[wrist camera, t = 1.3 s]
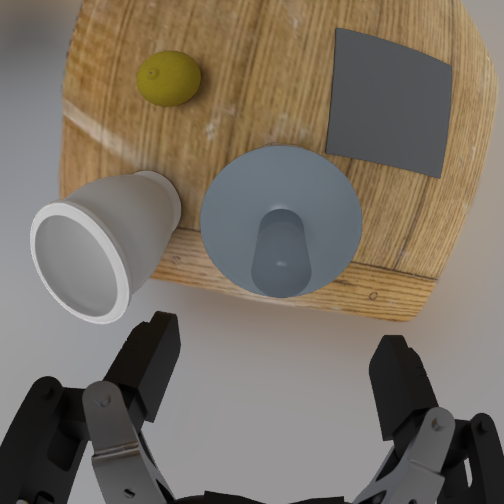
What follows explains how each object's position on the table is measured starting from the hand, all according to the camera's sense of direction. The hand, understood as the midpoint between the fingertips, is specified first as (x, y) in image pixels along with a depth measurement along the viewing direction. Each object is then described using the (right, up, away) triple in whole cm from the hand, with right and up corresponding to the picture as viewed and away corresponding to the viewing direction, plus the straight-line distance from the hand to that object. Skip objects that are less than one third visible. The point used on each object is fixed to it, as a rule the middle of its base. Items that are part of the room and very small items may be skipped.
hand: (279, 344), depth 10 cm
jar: (-13, +9, +21) cm, 26 cm away
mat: (+14, +19, +12) cm, 27 cm away
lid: (+1, +5, +11) cm, 12 cm away
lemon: (-8, +21, +14) cm, 26 cm away
